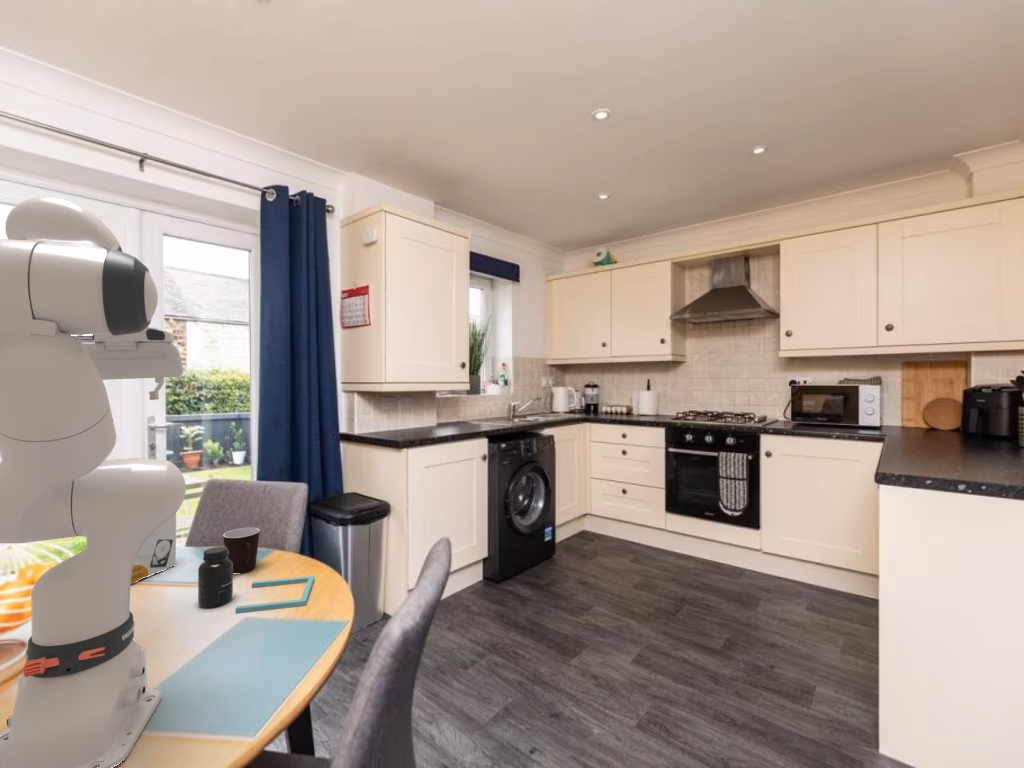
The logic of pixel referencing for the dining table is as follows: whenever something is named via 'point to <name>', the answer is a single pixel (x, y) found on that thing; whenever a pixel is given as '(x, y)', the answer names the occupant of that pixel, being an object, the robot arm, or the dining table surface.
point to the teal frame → (283, 603)
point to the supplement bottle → (215, 578)
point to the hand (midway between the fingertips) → (126, 401)
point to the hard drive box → (156, 551)
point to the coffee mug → (242, 548)
